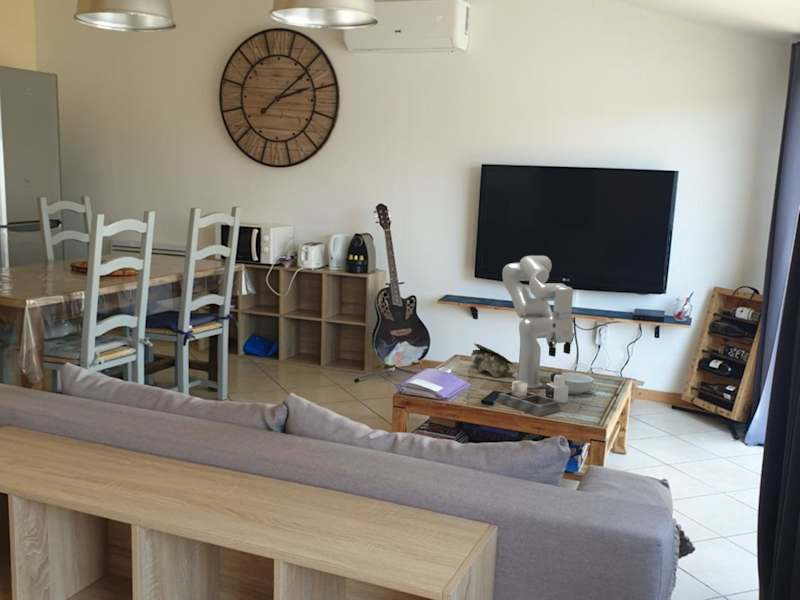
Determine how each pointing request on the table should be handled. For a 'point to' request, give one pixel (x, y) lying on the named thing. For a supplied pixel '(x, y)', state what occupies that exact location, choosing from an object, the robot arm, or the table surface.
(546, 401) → the rail rack
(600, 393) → the table surface
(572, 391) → the cereal bowl
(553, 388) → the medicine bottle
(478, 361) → the hollow geode rock
